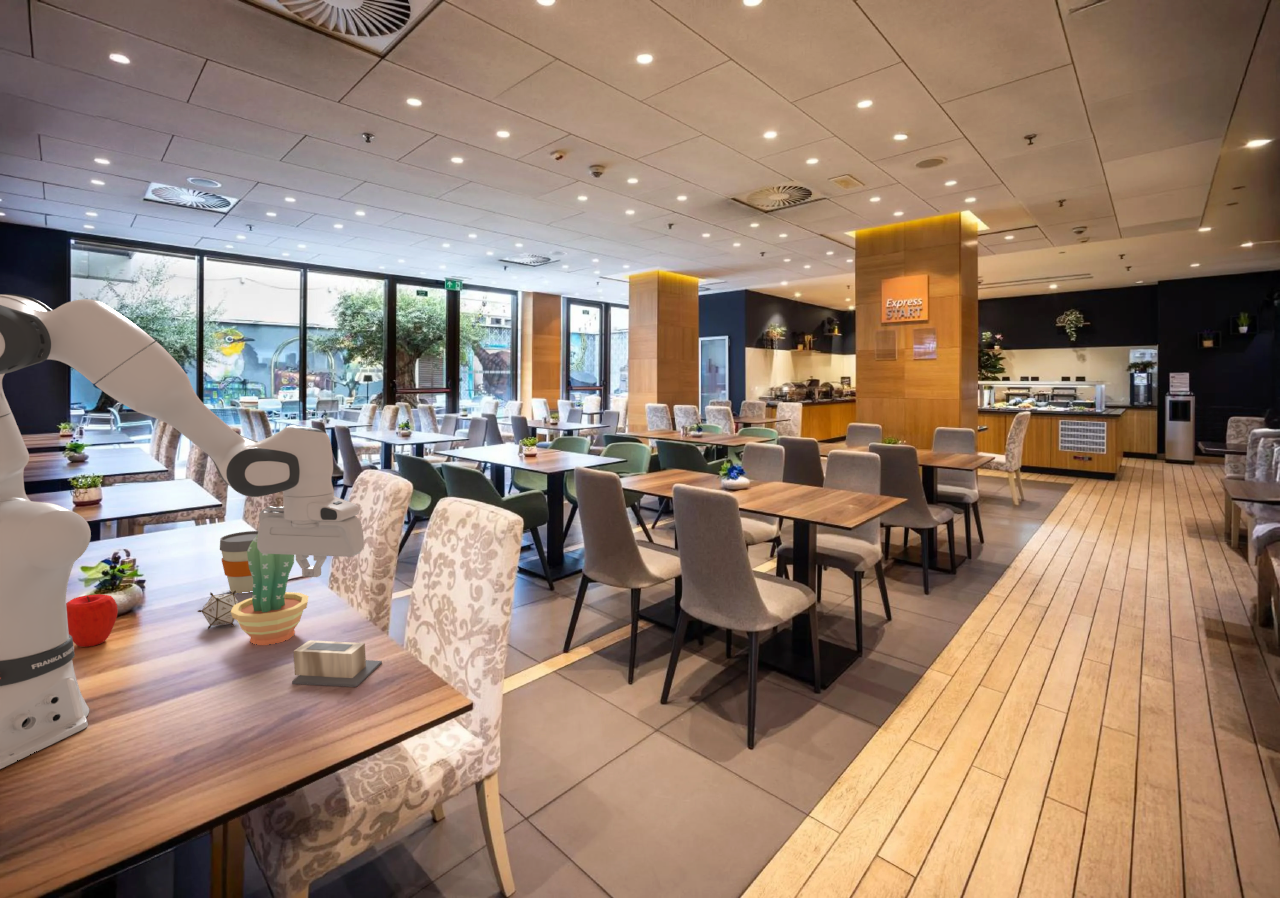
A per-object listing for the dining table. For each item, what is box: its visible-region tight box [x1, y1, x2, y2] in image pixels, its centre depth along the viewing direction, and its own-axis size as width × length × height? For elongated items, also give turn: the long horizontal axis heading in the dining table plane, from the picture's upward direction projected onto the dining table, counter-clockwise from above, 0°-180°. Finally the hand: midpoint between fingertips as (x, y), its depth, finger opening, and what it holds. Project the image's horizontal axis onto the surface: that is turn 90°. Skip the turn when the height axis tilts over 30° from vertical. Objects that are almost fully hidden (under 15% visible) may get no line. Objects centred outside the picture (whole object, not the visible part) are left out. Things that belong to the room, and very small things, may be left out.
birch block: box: [293, 639, 367, 678], centre depth 123 cm, size 5×5×12 cm
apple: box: [66, 593, 119, 648], centre depth 135 cm, size 9×9×11 cm
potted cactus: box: [231, 535, 309, 646], centre depth 138 cm, size 15×15×25 cm
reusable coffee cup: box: [219, 530, 258, 594], centre depth 170 cm, size 13×13×15 cm
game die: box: [196, 590, 240, 630], centre depth 145 cm, size 9×8×10 cm
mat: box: [291, 659, 383, 688], centre depth 123 cm, size 10×13×1 cm
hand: (311, 576), depth 121 cm, fingers closed
